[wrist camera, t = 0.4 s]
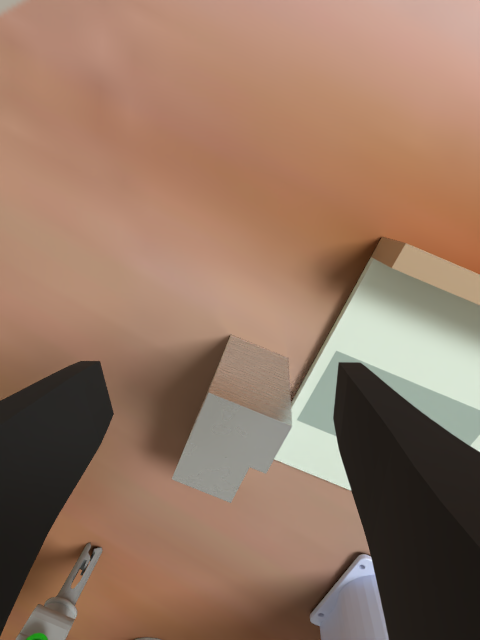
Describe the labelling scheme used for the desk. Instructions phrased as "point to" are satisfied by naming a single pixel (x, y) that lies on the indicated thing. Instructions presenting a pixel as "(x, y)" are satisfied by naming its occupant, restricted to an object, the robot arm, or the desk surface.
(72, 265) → the desk surface
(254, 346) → the bracket
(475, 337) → the corner arena
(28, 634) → the mechanical component
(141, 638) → the coffee cup
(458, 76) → the desk surface
